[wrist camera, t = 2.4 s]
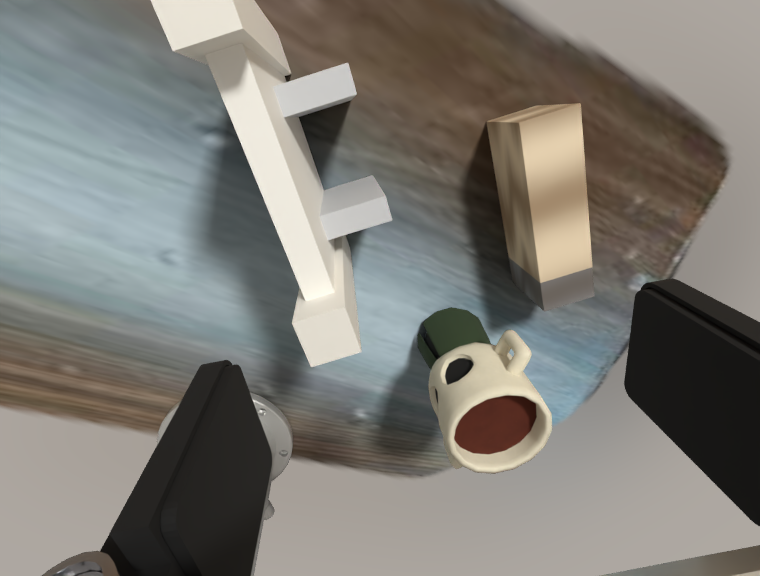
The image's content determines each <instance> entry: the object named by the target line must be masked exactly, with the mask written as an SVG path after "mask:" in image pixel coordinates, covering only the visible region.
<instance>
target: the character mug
mask: <svg viewBox="0 0 760 576" xmlns="http://www.w3.org/2000/svg"><path fill="white" fill-rule="evenodd" d="M423 325H424V327H425V329H426V331H427V333H426V336H425V342H424V340H423V338H422V336H421V335H420V333H418V335H417V336H418V348H419V350H420V352H421V354H422V356H423V358H424V359H425V361H426V363H427V364H428V366H429V368H430V369H431V372H430V377H429V385H428V388H429V395H430V400H431V403H432V406H433V409H434V411H435V413H436V415H437V417H438V420H439V427H440V429H441V432H442V434H443V436H444V437H443V441H444V446H445V449H446V452H447V455H448V458H449V461H450V463H451V465H452V466H453V467H454V468H455V469H459V468H461V467H462V466H463V467H466V468H468V469H470V470H472V471H474V472H477V473H492V474H495V473H499V472H503V471H508V470H512V469H515V468H517V467H519V466H520V465H522V464H524V463H526V462H528V461H530V460H531V459H533V458H534V457H535V455H537V453H538V452H540V451H541V450H542V449H543V448H544V446H545V445H546V443H547V440H548V438H549V436H550V433H551V431H552V414H551V412H550V411H549V409H548V407H547V405H546V404H545V402H544V401H543V399H542V397H541V396H540V394H539V393H538V392H537V390H536V389H535V387H534V386H533V385H532V383H531V382H530V381H529V379H528V378H527V377H526V375H525V374H524V372H523V370H524V368H525V367H526V365H527V364H528V362H529V360H530V358H531V355H532V354H531V351H530V349H529V348H528V346H527V345H526V344H525V343H524V342H523V340H522V339H521V338H520V337H519V336H518V334H517V333H516V332H515V331H513V330H507V331H505V332H504V333H503V335H502V336H501V338H500V340H499V341H498V343H497V345H496V346H495V345H492V344H491V343H490V341H489V338H488V336H487V334H486V332H485V330H484V328H483V326H482V324H481V322H480V320H479V318H478V317H476V316H475V315H473V314H472V313H470V312H469V311H467V310H462V309H457V308H452V307H451V308H448V309H444V310H441V311H437V312H435V313H434V314H433V315H431V316H430V317H429V318H428V319H426V320H425V321H424V323H423ZM510 349H512V350H513V351H514V356H513V357H512V356H511V355H510V354H509V351H510Z"/></svg>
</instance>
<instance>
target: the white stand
mask: <svg viewBox="0 0 760 576" xmlns="http://www.w3.org/2000/svg"><path fill="white" fill-rule="evenodd" d="M151 2H152V4H153V7H154V9H155V11H156V13H157V16H158V18H159V20H160V23H161V25H162V27H163V29H164V32H165V34H166V36H167V39H168V41H169V43H170V45H171V48H172V50H173V51H174V52H176V53H179V54H181V55H184V56H186V57H189V58H191V59H194V60H196V61H199V62H201V63H204V64H206V65H209V67H210V69H211V72H212V74H213V76H214V79H215V81H216V84H217V86H218V89H219V91H220V94H221V96H222V98H223V101H224V103H225V106H226V108H227V111H228V113H229V116H230V118H231V120H232V123H233V125H234V128H235V130H236V133H237V135H238V137H239V140H240V142H241V145H242V147H243V150H244V152H245V155H246V157H247V159H248V162H249V164H250V167H251V169H252V172H253V174H254V177H255V179H256V181H257V184H258V186H259V189H260V191H261V194H262V196H263V198H264V201H265V203H266V206H267V208H268V211H269V213H270V216H271V218H272V220H273V223H274V225H275V228H276V230H277V233H278V235H279V238H280V240H281V242H282V245H283V247H284V250H285V252H286V255H287V257H288V259H289V262H290V264H291V267H292V269H293V272H294V274H295V277H296V279H297V281H298V284H299V286H300V288H299V292H298V297H297V302H296V306H295V311H294V316H293V320H292V325H293V327H294V329H295V331H296V334H297V336H298V338H299V341H300V343H301V345H302V347H303V350H304V352H305V354H306V357H307V359H308V361H309V363H310V366H311V367H314V366H317V365H321V364H324V363H327V362H330V361H334V360H337V359H340V358H344V357H347V356H350V355H353V354H357V353H360V352H362V351H361V342H360V333H359V324H358V314H357V305H356V296H355V287H354V277H353V268H352V259H351V250H350V246H349V244H348V241H347V238H346V235H347V234H350V233H353V232H356V231H359V230H363V229H366V228H369V227H372V226H376V225H379V224H382V223H385V222H388V221H392V217H391V214H390V210H389V206H388V203H387V199H386V196H385V194H384V193H383V191H382V189H381V188H380V186H379V185H378V183H377V181H376V180H375V178H374V177H373V175H371V176H368V177H364V178H361V179H358V180H355V181H352V182H349V183H345V184H342V185H339V186H336V187H333V188H329V189H326V190H324V189H323V186H322V183H321V181H320V178H319V175H318V172H317V169H316V166H315V163H314V160H313V157H312V154H311V152H310V149H309V146H308V143H307V140H306V137H305V134H304V131H303V128H302V125H301V122H300V120H299V117H301V116H304V115H307V114H310V113H313V112H316V111H319V110H322V109H326V108H329V107H332V106H335V105H338V104H341V103H344V102H348V101H351V100H352V99H353V98H354V97H355V96H356V95H357V93H356V89H355V86H354V82H353V79H352V75H351V72H350V68H349V65H348V63H345V64H342V65H339V66H336V67H333V68H330V69H327V70H324V71H320V72H317V73H314V74H311V75H308V76H305V77H302V78H299V79H295V80H292V81H289V82H286V79H285V76H287V75H290V74H291V71H290V68H289V65H288V63H287V60H286V57H285V54H284V51H283V48H282V45H281V42H280V39H279V36H278V33H277V32H276V31H275V29H274V28H273V26H272V25H271V23H270V22H269V21H268V19H267V18H266V16H265V15H264V14H263V12H262V11H261V9H260V8H259V6H258V5H257V4H256V2H255V1H254V0H151Z"/></svg>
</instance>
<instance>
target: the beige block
mask: <svg viewBox="0 0 760 576" xmlns="http://www.w3.org/2000/svg"><path fill="white" fill-rule="evenodd" d="M487 128H488V134H489V141H490V147H491V153H492V159H493V165H494V171H495V177H496V183H497V189H498V195H499V201H500V208H501V214H502V220H503V226H504V232H505V238H506V244H507V250H508V256H509V262H510V268H511V275H512V281H513V283H514V284H515V285H516V286H517V287H518V288H520V289H521V290H522V291H523V292H524V293H525V294H526V295H527V296H528V297H529V298H530V299H531V300H532V301H533V302H535V303H536V304H537V305H538V306H539V307H540V308H541V309H542V310H543V311H548V310H551V309H554V308H558V307H561V306H564V305H567V304H571V303H574V302H577V301H581V300H584V299H587V298H590V297H594V283H593V269H592V255H591V242H590V228H589V214H588V200H587V186H586V172H585V158H584V144H583V131H582V117H581V103H578V104H559V105H541V106H534V107H531V108H528V109H525V110H522V111H518V112H515V113H512V114H509V115H506V116H502V117H499V118H496V119H493V120H490V121H487Z"/></svg>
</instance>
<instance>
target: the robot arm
mask: <svg viewBox="0 0 760 576" xmlns="http://www.w3.org/2000/svg"><path fill="white" fill-rule="evenodd" d="M624 385H625V389H626V392H627V394H628V396H629V397H630V398H631V399H632V400H633V401H634V402H635V404H637V405H638V407H639V408H640V409H641V410H643V412H645V414H646V415H648V416H649V418H650V419H651V420H652V421H653V422H654V423H655V424H656V425H658V427H659V428H660V429H661V430H662V431H663V432H664V433H665V434H666V435H667V436H668V437H669V438H670V439H671V440H672V441H673V442H674V443H675V444H676V445H677V446H678V447H679V448H680V449H681V450H682V451H683V452H684V453H685V454H686V455H687V456H688V457H689V458H690V459H691V460H692V461H693V462H694V463H695V464H696V465H697V466H698V467H699V468H700V469H701V470H702V471H703V472H704V473H705V474H706V475H707V476H708V477H709V478H710V479H711V480H712V481H713V482H714V483H715V484H716V485H717V486H718V487H719V488H720V489H721V490H722V491H723V492H724V493H725V494H726V495H727V496H728V497H729V498H730V499H731V500H732V501H733V502H734V503H735V504H736V505H737V506H738V507H739V508H740V509H741V510H742V511H743V512H744V513H745V514H746V516H748V517H749V519H750V520H752V521H753V522H754V523H755V524H757V525H758V526H760V322H758V321H756V320H754V319H752V318H750V317H748V316H746V315H745V314H742V313H741V312H739V311H737V310H735V309H733V308H731V307H729V306H727V305H725V304H723V303H721V302H719V301H717V300H715V299H713V298H712V297H710V296H707V295H706V294H704V293H702V292H700V291H698V290H696V289H694V288H692V287H690V286H688V285H686V284H684V283H682V282H681V281H678V280H676V279H666V280H660V281H655V282H650V283H646V284H644V285H643V286H642V288H641V290H640V291H638V292H637V293H636V296H635V301H634V309H633V317H632V325H631V333H630V341H629V349H628V357H627V365H626V373H625V381H624ZM292 447H293V434H292V430H291V426H290V424H289V422H288V420H287V418H286V417H285V416H284V414H283V413H282V412H281V411H280V410H279V409H278V408H277V407H276V406H275V405H274V404H272V403H271V402H270V401H268V400H266V399H264V398H263V397H261V396H258V395H256V394H253V393H250V392H249V389H248V386H247V384H246V381H245V378H244V376H243V373H242V370H241V368H240V366H239V365H232V363H231V362H230V361H228V360H224V361H219V362H213V363H208V364H203V365H201V366H200V368H199V369H198V371H197V373H196V375H195V377H194V379H193V380H192V382H191V384H190V386H189V388H188V390H187V391H186V393H185V395H184V397H183V399H182V400H181V401H180V402H178V403H177V404H176V405H175V406H174V407H173V408H172V409H171V410H170V411H169V412H168V414H167V415H166V417H165V419H164V420H163V422H162V424H161V427H160V429H159V432H158V437H157V447H156V449H155V451H154V453H153V454H152V456H151V458H150V460H149V462H148V463H147V465H146V467H145V469H144V471H143V473H142V474H141V476H140V478H139V480H138V482H137V484H136V486H135V487H134V489H133V491H132V493H131V495H130V497H129V498H128V500H127V502H126V504H125V506H124V508H123V510H122V511H121V513H120V515H119V517H118V519H117V521H116V522H115V524H114V526H113V528H112V530H111V532H110V534H109V536H108V538H107V540H106V541H105V543H104V545H103V547H102V549H101V551H100V552H99V551H93V552H84V553H81V554H78V555H76V556H73V557H71V558H68V559H66V560H65V561H63V562H61V563H60V564H58V565H56V566H55V567H53V568H51V569H50V570H48V571H47V572H46V573H45V574H43V575H42V576H254V571H255V565H256V560H257V554H258V549H259V543H260V537H261V531H262V526H263V521H264V520H267V519H269V518H271V516H272V515H273V514H274V508H273V506H272V504H271V503H270V501H269V500H268V498H269V492H270V486H271V481H272V480H274V479H275V478H276V477H277V476H278V475H280V474H281V473H282V472H283V470H284V469H285V467H286V466H287V464H288V462H289V460H290V457H291V453H292ZM602 576H760V545H759V546H753V547H748V548H743V549H738V550H732V551H727V552H722V553H717V554H711V555H705V556H700V557H695V558H689V559H685V560H679V561H674V562H669V563H663V564H658V565H653V566H648V567H643V568H638V569H633V570H627V571H623V572H617V573H612V574H606V575H602Z"/></svg>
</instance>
